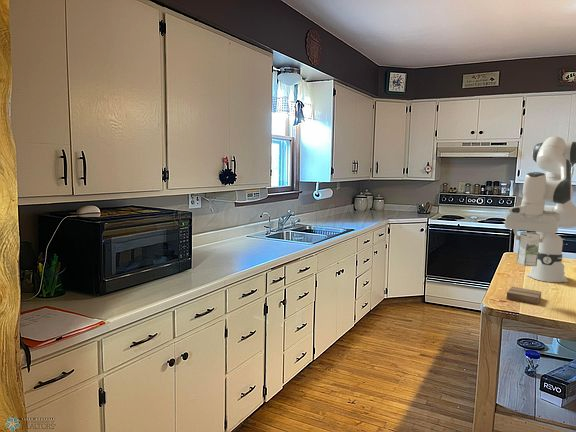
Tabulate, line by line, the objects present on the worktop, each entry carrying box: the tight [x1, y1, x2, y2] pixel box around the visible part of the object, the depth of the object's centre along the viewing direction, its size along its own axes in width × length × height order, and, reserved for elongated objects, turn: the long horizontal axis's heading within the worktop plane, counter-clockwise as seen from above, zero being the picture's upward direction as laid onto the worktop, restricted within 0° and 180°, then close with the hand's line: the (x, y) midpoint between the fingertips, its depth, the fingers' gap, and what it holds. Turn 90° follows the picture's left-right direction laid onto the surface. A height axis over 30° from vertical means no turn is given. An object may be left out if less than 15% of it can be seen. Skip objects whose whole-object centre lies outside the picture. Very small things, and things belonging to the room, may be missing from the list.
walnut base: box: [506, 286, 542, 306], centre depth 191 cm, size 12×12×3 cm
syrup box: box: [516, 231, 540, 267], centre depth 189 cm, size 6×6×14 cm
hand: (529, 241), depth 188 cm, fingers closed on syrup box, 8 cm apart
